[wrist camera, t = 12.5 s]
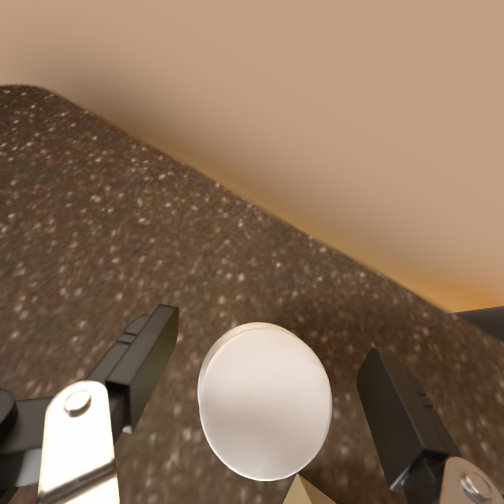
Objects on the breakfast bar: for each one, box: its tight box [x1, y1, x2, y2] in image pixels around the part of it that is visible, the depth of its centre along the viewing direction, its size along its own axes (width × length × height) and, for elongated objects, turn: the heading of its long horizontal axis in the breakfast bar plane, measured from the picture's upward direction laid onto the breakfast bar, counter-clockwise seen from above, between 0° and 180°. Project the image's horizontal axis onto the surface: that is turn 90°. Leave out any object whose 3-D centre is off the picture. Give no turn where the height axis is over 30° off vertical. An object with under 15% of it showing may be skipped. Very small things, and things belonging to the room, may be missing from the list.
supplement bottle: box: [198, 322, 332, 481], centre depth 11 cm, size 5×5×8 cm
